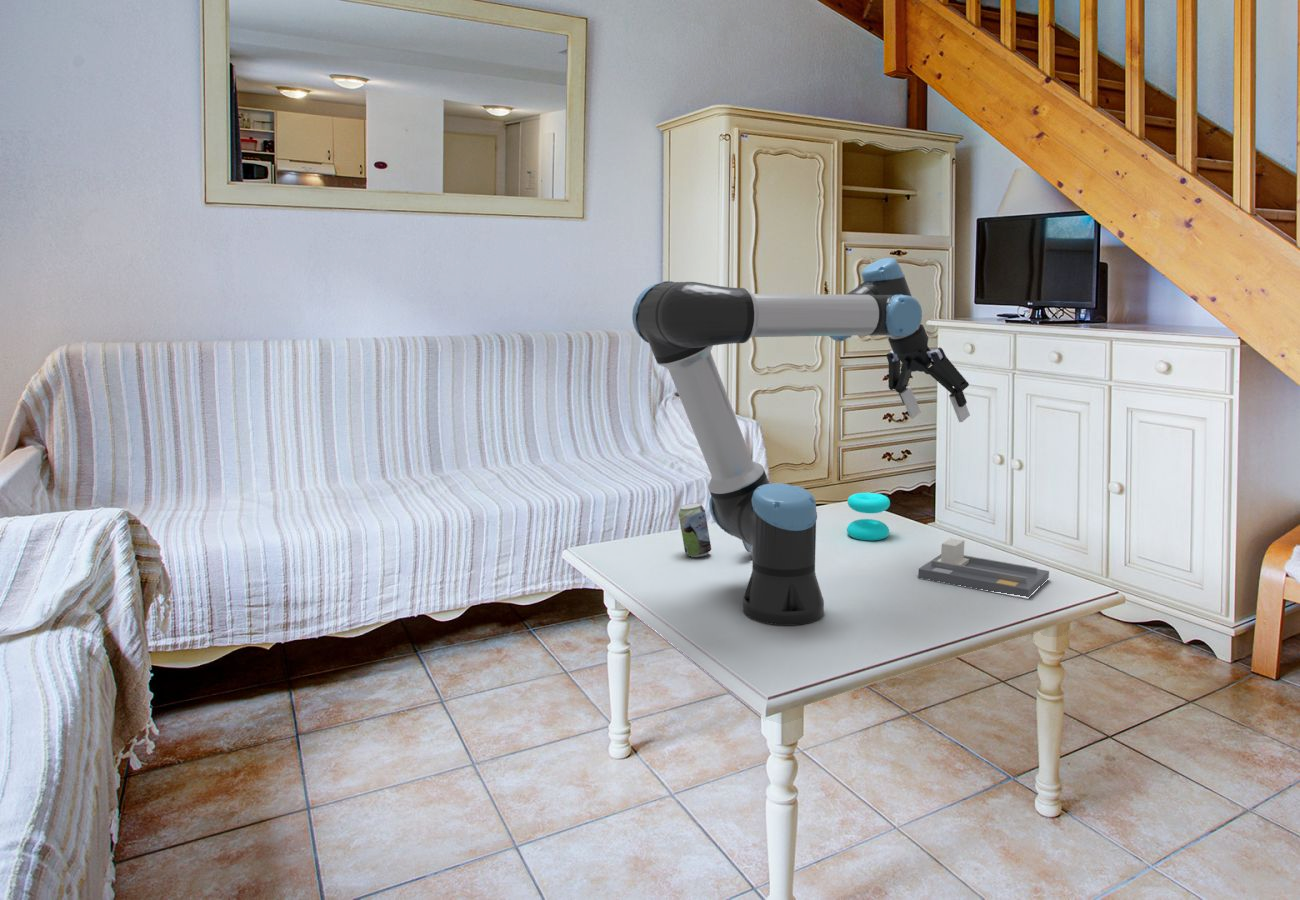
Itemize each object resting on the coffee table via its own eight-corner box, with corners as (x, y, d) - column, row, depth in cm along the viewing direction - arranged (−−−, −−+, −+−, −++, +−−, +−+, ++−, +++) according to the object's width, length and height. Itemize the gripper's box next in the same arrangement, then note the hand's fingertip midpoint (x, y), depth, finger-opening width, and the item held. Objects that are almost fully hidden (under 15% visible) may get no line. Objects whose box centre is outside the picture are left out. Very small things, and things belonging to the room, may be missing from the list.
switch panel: (1028, 599, 174) (1029, 583, 173) (918, 578, 187) (918, 563, 186) (1048, 580, 184) (1049, 565, 184) (943, 561, 198) (943, 547, 197)
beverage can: (711, 559, 202) (711, 507, 200) (679, 559, 202) (678, 508, 200) (710, 551, 208) (710, 500, 206) (678, 551, 208) (678, 501, 206)
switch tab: (958, 569, 185) (959, 547, 185) (935, 565, 188) (936, 543, 188) (968, 562, 190) (970, 540, 189) (945, 558, 193) (946, 536, 192)
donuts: (891, 492, 220) (889, 502, 210) (889, 532, 221) (888, 543, 212) (849, 490, 222) (845, 499, 213) (848, 529, 224) (844, 540, 215)
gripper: (963, 319, 176) (998, 410, 184) (873, 323, 198) (907, 405, 205) (939, 338, 174) (975, 430, 181) (851, 340, 195) (886, 422, 202)
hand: (939, 417), depth 193 cm, fingers open, 13 cm apart
